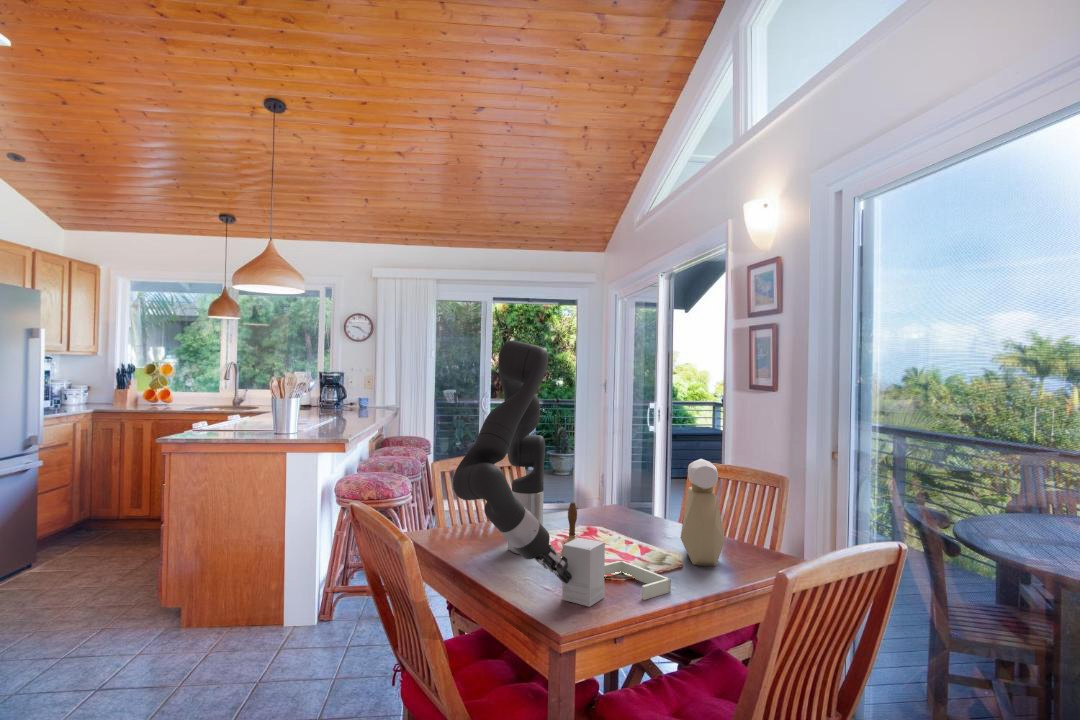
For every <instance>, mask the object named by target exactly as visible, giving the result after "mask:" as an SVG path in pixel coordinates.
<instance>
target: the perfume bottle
mask: <svg viewBox="0 0 1080 720" xmlns="http://www.w3.org/2000/svg"><path fill="white" fill-rule="evenodd" d="M687 475H688V481H689V482H690V483H691V486H689V487H688V488H687V493H686V501H685V508H684V513H683V521H682V525H681V532H680V541H681V542H682V544H683V547H684V549H685V551H686V553H687V555H688V557H689V559H690V561H691V563H692V565H693V566H697V567H699V566H703V567H715V566H717V564H718V561H719V559H720V556H721V553H722V551H723V547H724V544H725V542H726V538H725V533H724V528H723V522H722V516H721V510H720V505H719V500H718V496H717V495H716V494H715V493H714V492H713V487H714V486H715V485H716V484H717V483H718V480H719V474H718V468H717V467H716V466H715V465H714V464H713V463H712V462H711V461H709V460H706V459H703V458H699V459H697V460H693V461H692V462H691V463H689V464H688V467H687Z"/></svg>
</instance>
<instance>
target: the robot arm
mask: <svg viewBox="0 0 1080 720" xmlns="http://www.w3.org/2000/svg"><path fill="white" fill-rule="evenodd" d="M497 361H498V362H497V363H498V364H497V366H498V374H499V379H500V383H501V387H502V391H503V402H501V403H500V404H498V405H497V406H495V408H494V409H493V410H491V411H490V412H489V414H488V415H487V416H486V418H485V419H484V421H483V424H482V426H481V428H480V431H479V433H478V435H477V438H476V440H475V442H474V444H473V445H472V447H471V448H470V449H469V450H468V452H466V454H465V455H464V457H463V458H462V460H461V461H460V462H459V464H458V465H457V467H456V470H455V471H454V474H453V478H452V489H453V492H454V493H455V495H456V496H457V497H458V499H459V498H460V499H461V500H464V501H475V500H484V501H486V503H485V505H484V513H485V516H486V517H487V519H488V520H489V522H491V523H492V524H493V526H494V527H495V528H496V529H497V530H498V531H499V532H500V533H501V535H502V536H503V538H504V539H505V540H506V541H507V551H508V550H509V551H511V553H514V554H518V555H520V556H521V557H522V558H524V560H534V561H536V562H537V563H538V564H539V565H541V566H542V567H543V568H544V569H546V570H549V571H550V573H553V574H554V575H555V576H556V577H557V578H558V580H560V581H561V583H563V582H564V583H566V584H567V583H568V582H569V581H570V579H571V577H572V575H571V574H570V573H569V572H568V571H567V570H566V569H567V567H568V560H567V559H566V557H564V556H563V557H560V556H559V555H560V554H558V552H556V548H554V546H553V545H551V544H550V539H551V537H550V533H549V531H548V530H547V529H546V528H545V526H544V486H545V485H544V483H545V482H544V481H545V480H544V479H545V478H544V472H545V471H544V470H545V460H546V441H545V438H544V436H542V435H540V434H539V435H538V434H531V433H533V432H534V431H535V430H536V428H537V427H538V425H539V423H540V420H541V404H540V399H539V397H538V395H537V391H538V390H539V388H540V386H541V385H542V382H543V379H544V378H545V375H546V372H547V369H548V365H549V364H548V363H549V352H548V350H547V349H546V348H545V347H542V346H539V345H535V344H531V343H526V342H521V341H516V340H509V341H506V342H505V343H503V345H502V347H500V351H499V353H498V359H497ZM506 456H507V458H508V462H509V464H510V465H511V466H513V467H517V468H533V469H532V470H531V471H530V472H529V473H527V474H526V475H523V476H520V477H517V478H515V479H514V480H512V482H511V486H510V484H509V483H508V480H507V478H506V476H505V474H504V472H503V471H502V470H501V469H500V468H499V467H498V466H497V465H495V464H497V463H499V462H501V461H503V459H505V458H506Z"/></svg>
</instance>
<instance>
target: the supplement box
mask: <svg viewBox="0 0 1080 720" xmlns="http://www.w3.org/2000/svg"><path fill="white" fill-rule="evenodd" d="M605 545H606V543H605V542H604V541H597V540H593V539H586V538H582V537H577V538H575V539H574V540H572V541H570V542H568V543H566V544H562V548H563V556H564V557H566V559H567V560H568V567H567V569H566V570H567V571H568V572H569V573H570V574H571V575H572V577H571V579H570V581H569V582H568V583H567V584H566V583H564V582H561V583H562V597H561V598H562V601H566V602H571V603H574V604H577V605H581V606H586V607H592V606H593V605H595V604H596V603H598V602H599V601H601V600H603V599H604V598H605V578H604V573H605V571H604V570H605V564H606V563H605V562H606V561H605V560H606V556H605V553H606V550H605V547H606V546H605Z"/></svg>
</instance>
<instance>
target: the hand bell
mask: <svg viewBox="0 0 1080 720" xmlns="http://www.w3.org/2000/svg"><path fill="white" fill-rule="evenodd" d="M577 519H578V509H577V506H576V502H573V501H572V502H570V503H569V507H568V510H567V521H568V525H569V527H568V528H569V529H568V538H566V539H564V541H563V544H566V543H568V542H570V541H572V540H574V539H576V523H577ZM563 544H562V545H563ZM558 555H559V556H560V557H563V547H562V549H561V552H560V554H558Z"/></svg>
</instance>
